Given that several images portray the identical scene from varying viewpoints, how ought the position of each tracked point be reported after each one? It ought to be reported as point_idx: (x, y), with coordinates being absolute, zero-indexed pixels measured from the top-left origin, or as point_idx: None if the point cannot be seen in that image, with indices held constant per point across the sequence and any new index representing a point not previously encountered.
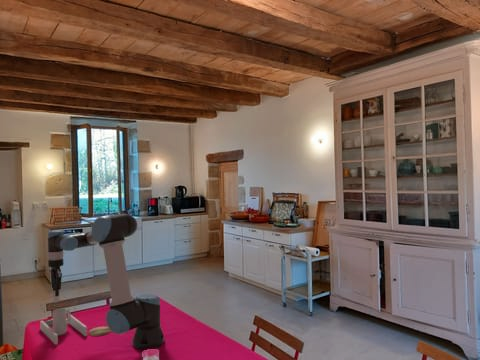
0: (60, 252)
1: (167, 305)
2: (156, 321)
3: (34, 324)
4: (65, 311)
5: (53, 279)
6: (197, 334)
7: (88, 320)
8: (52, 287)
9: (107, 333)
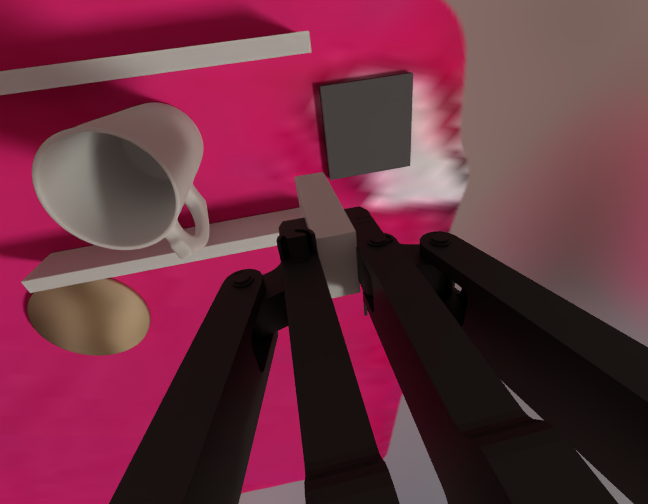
0: None
1: (277, 484)
2: None
3: (424, 11)
4: (85, 235)
5: (430, 383)
6: None
7: None
8: (420, 239)
9: (52, 338)
